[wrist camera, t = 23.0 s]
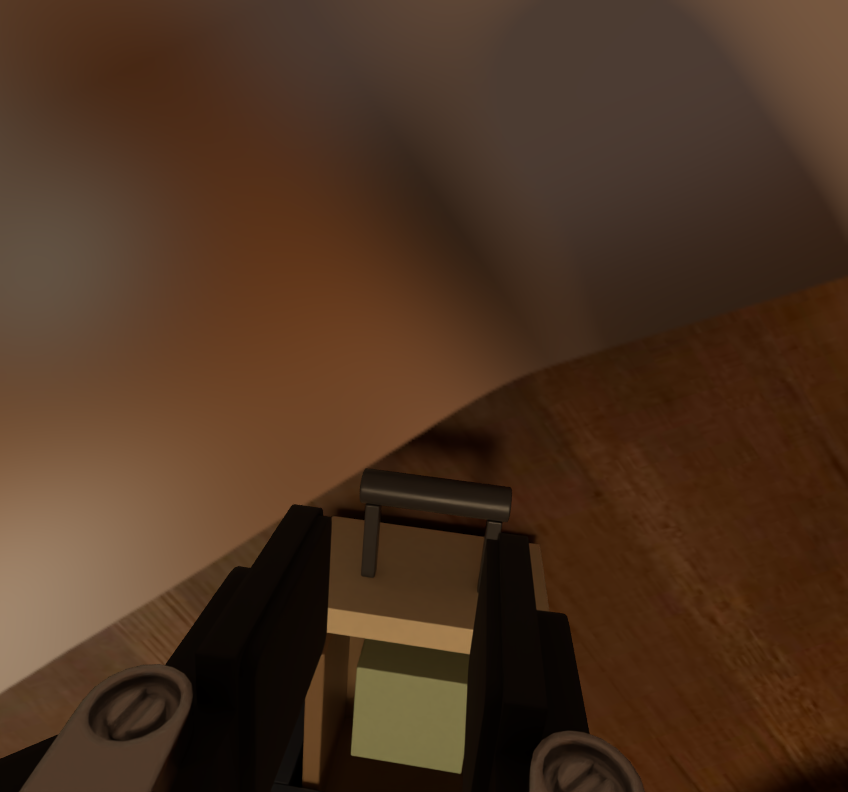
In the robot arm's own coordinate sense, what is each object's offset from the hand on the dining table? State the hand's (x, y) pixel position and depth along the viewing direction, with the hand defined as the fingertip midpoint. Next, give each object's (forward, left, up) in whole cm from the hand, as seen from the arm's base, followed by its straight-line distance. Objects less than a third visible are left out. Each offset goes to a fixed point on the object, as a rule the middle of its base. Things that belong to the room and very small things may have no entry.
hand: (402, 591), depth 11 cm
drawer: (+12, 0, -16) cm, 20 cm away
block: (+14, 0, -15) cm, 21 cm away
